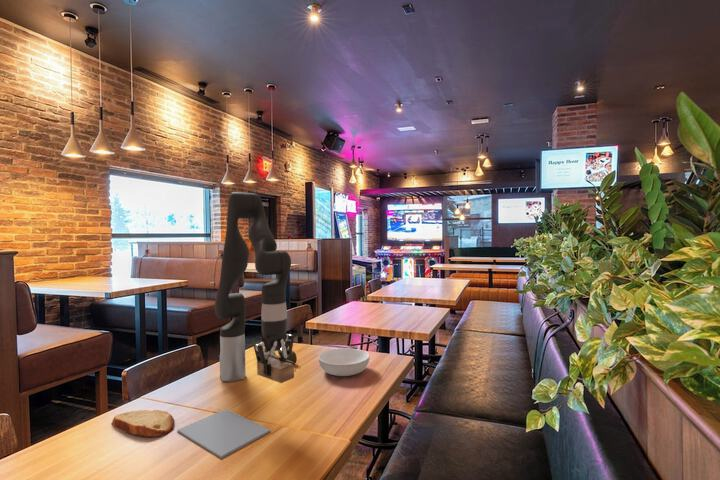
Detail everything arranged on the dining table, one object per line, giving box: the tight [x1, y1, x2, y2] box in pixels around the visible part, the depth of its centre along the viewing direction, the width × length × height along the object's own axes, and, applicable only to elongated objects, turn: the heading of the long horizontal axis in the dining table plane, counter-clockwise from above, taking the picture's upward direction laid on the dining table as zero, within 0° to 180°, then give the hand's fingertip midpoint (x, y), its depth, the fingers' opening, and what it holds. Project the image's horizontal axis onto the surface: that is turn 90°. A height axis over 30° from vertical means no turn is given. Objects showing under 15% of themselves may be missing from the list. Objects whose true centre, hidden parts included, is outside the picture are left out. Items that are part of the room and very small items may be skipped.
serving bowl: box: [317, 347, 370, 377], centre depth 157 cm, size 21×21×7 cm
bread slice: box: [111, 409, 176, 438], centre depth 116 cm, size 18×18×4 cm
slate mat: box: [176, 408, 271, 459], centre depth 112 cm, size 22×16×1 cm
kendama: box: [263, 350, 298, 365], centre depth 167 cm, size 6×10×20 cm
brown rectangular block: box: [256, 358, 295, 384], centre depth 117 cm, size 11×5×4 cm, turn 52°
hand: (275, 372), depth 117 cm, fingers closed on brown rectangular block, 5 cm apart
